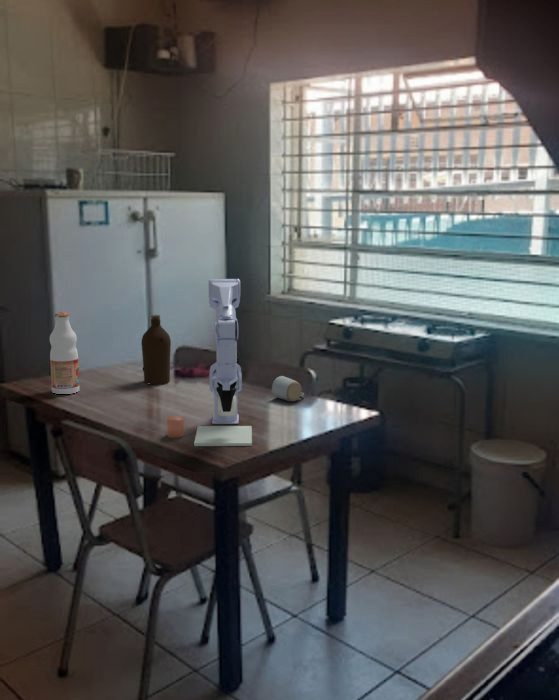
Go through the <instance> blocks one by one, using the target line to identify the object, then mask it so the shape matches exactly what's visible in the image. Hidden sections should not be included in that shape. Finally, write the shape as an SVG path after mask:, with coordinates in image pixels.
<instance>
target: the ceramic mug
mask: <svg viewBox="0 0 559 700" xmlns="http://www.w3.org/2000/svg"><path fill="white" fill-rule="evenodd" d="M302 390H303V389H302V385H301V383H299V382H298V381H297V380H294V379H292V378H289V377H286V376H284V375H280V376H278V377H276V378H275V379H274V381H273V382H272V385H271V393H272V395H273V396H274V397H275V398H277V399H281V400H284V401H286V402H296V401H297V400H298V399H299V398H300V397H301V398H304V397H305V393H304V392H302Z"/></svg>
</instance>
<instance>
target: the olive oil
mask: <svg viewBox="0 0 559 700" xmlns="http://www.w3.org/2000/svg"><path fill="white" fill-rule="evenodd" d="M150 324H151V325H150V326H149V328H148V329H147V330H146V331H144V333H143V335H142V338H141V353H142V364H143V365H142V371H143V381H144V383H145V382H146V383H150V384H149V385H151V384H161V385H165V384H164V383H166V384H169V383H170V382H171V349H172V346H171V345H172V340H171V337H170V335H169V333H168V332H167V331H166V330H165V328H163V326H161V315H159V314H152V315H151V316H150ZM168 382H169V383H168ZM146 383H145V384H146Z"/></svg>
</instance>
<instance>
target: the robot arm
mask: <svg viewBox="0 0 559 700" xmlns="http://www.w3.org/2000/svg"><path fill="white" fill-rule="evenodd" d="M241 294H242V293H241V280H240V279H239V278H209V279H208V304H209V307H210V308H212V309H213V310H215V323H214V338H215V347H216V350H215V351H216V353H215V354H216V362H214V363H213V364H212V365H210V368H209V375H208V376H209V391H210V392H211V393H213V414H212V415H213V416H212V422H211V423H212V425H238V424H239V423H240V422H239V420H240V419H239V418H240V414H239V413H238V395H239V392H241V391H242V388H243V381H242V380H243V379H242V377H243V376H242V375H243V374H242V368H241V366H240V365H239V363H237V362H238V360H237V359H238V357H237V356H238V355H237V354H238V353H237V351H238V349H237V347H238V340H239V322H238V319H237V315H236V314H237V313H236V309H237V308H239V306H240V305H239V304H240V303H241ZM234 395H235V396H236V414H235V415H232V416H221V415H219V414H218V396H220V400H221V405H222V410H223V412H230V411H231V407H232V400H233V397H234Z"/></svg>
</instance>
